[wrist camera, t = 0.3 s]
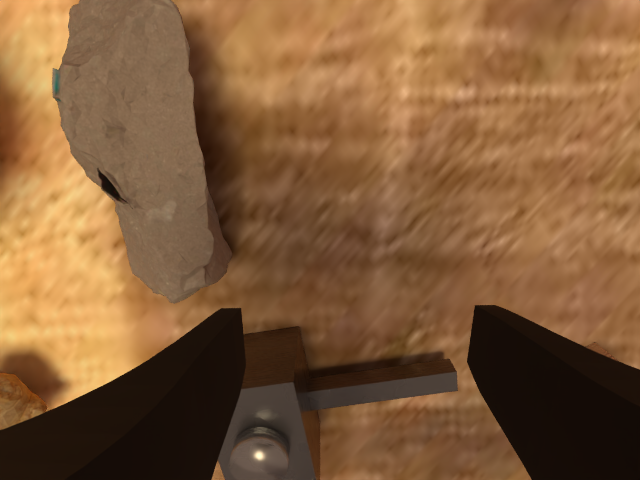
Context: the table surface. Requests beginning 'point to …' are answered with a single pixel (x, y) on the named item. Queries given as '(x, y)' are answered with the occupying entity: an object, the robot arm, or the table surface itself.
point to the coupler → (305, 405)
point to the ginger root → (17, 401)
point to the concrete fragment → (142, 138)
